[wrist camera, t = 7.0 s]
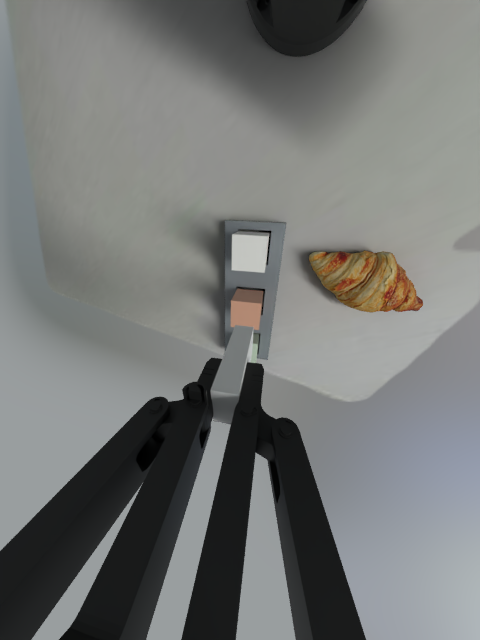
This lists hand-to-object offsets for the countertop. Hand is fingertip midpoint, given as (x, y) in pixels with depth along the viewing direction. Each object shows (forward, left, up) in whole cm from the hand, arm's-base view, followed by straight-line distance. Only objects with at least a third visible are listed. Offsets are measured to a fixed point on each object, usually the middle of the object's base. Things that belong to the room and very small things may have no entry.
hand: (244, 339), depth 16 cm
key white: (-4, -2, -22) cm, 22 cm away
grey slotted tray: (+6, -2, -24) cm, 25 cm away
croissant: (0, +18, -25) cm, 31 cm away
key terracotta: (+6, -2, -22) cm, 22 cm away
